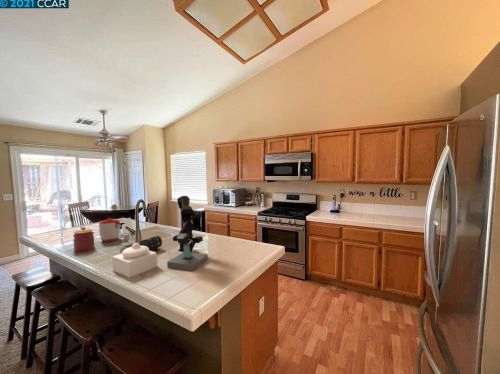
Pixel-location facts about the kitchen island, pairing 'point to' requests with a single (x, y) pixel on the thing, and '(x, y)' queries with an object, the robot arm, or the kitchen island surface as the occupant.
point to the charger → (187, 250)
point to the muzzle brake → (147, 244)
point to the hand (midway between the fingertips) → (188, 251)
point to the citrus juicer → (109, 230)
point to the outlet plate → (187, 261)
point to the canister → (83, 240)
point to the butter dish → (134, 260)
